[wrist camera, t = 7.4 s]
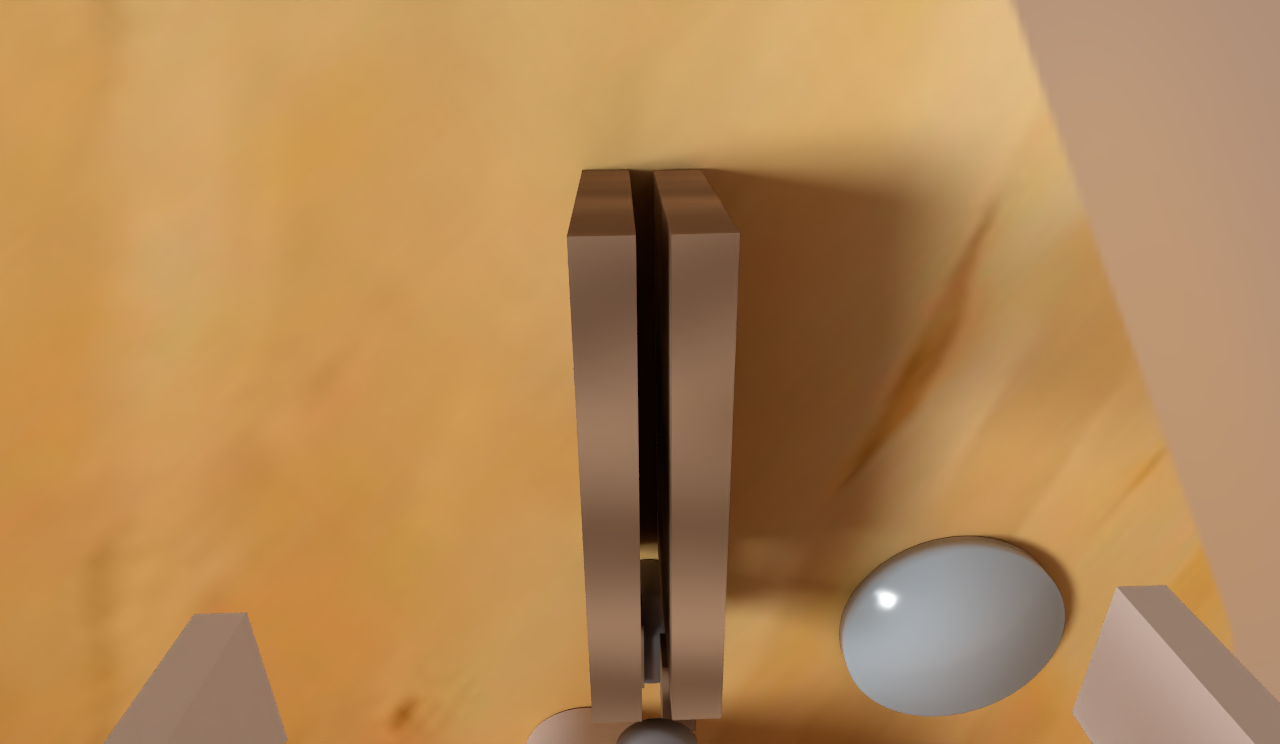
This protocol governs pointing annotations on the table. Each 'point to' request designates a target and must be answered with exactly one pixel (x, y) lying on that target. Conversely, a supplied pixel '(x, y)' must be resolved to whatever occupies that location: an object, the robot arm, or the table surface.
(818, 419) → the table surface
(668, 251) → the tongs hinged jaw
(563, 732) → the coffee cup
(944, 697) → the grey domed disc
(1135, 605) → the robot arm
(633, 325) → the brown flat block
